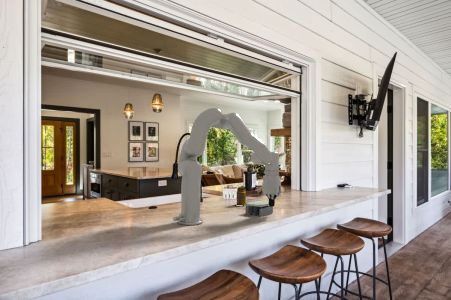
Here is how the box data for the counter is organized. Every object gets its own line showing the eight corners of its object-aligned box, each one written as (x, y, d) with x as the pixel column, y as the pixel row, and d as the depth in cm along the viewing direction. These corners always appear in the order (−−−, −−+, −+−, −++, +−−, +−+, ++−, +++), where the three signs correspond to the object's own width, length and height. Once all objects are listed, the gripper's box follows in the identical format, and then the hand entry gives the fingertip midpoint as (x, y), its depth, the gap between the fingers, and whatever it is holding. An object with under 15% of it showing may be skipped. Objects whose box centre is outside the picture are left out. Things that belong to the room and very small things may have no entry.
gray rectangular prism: (256, 215, 166) (256, 207, 166) (252, 214, 169) (252, 206, 169) (266, 213, 171) (266, 205, 171) (262, 212, 173) (262, 204, 173)
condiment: (248, 205, 196) (248, 187, 196) (239, 207, 190) (239, 188, 190) (240, 204, 201) (240, 186, 201) (231, 205, 195) (231, 187, 196)
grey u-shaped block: (261, 216, 162) (261, 207, 162) (245, 213, 169) (245, 205, 169) (272, 213, 171) (273, 204, 171) (257, 210, 178) (257, 202, 178)
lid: (261, 206, 162) (261, 205, 162) (245, 204, 169) (245, 203, 169) (273, 204, 171) (273, 202, 171) (257, 202, 178) (257, 200, 178)
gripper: (257, 173, 167) (256, 205, 166) (280, 174, 157) (279, 208, 157) (264, 172, 172) (264, 203, 172) (287, 174, 162) (286, 207, 162)
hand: (271, 206), depth 164 cm, fingers closed
